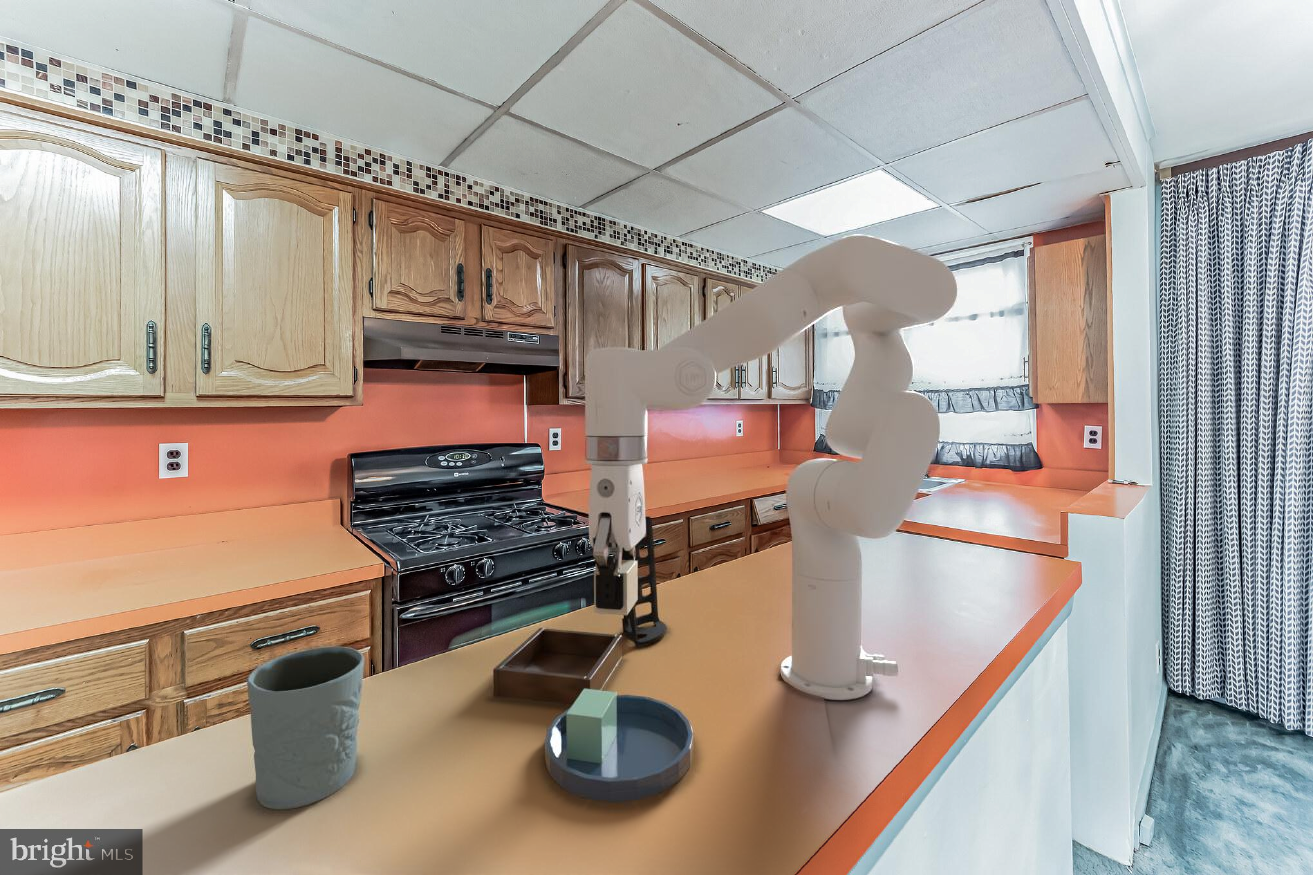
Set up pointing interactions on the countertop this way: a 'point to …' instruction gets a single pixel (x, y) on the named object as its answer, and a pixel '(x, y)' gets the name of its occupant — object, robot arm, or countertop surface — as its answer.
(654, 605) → the holder
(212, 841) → the countertop surface
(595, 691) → the green block
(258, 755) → the grey embossed cup
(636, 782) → the blue round tray
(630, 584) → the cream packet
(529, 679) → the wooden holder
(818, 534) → the robot arm
